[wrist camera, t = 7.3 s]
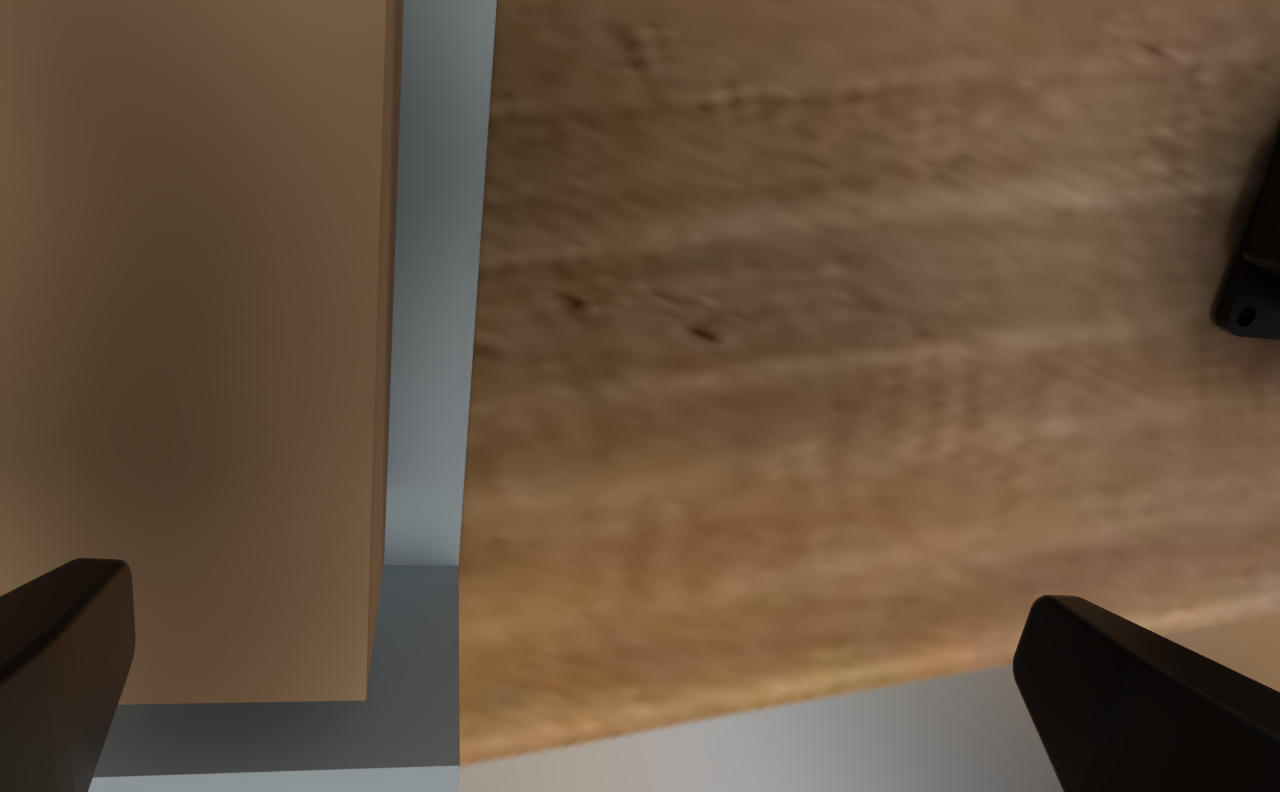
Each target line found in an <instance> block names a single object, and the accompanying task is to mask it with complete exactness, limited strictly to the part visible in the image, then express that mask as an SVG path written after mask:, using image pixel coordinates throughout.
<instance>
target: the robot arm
mask: <svg viewBox="0 0 1280 792" xmlns="http://www.w3.org/2000/svg"><path fill="white" fill-rule="evenodd" d="M1241 310H1243V313H1242V315H1241V316H1240V318H1239V319H1237V316H1238V314H1239V313H1240V311H1241ZM1215 320H1216V324H1217V326H1218V327H1219V328H1220V329H1221V330H1223V331H1226V332H1228V333H1230V334H1233V335H1236V336H1239V337H1251V338H1264V339H1277V340H1280V139H1279V142H1278V144H1277V147H1276V150H1275V152H1274V155H1273V158H1272V161H1271V163H1270V166H1269V169H1268V172H1267V174H1266V177H1265V180H1264V182H1263V185H1262V188H1261V191H1260V193H1259V196H1258V199H1257V202H1256V204H1255V207H1254V210H1253V213H1252V215H1251V218H1250V221H1249V223H1248V226H1247V229H1246V232H1245V234H1244V237H1243V240H1242V243H1241V245H1240V248H1239V251H1238V253H1237V256H1236V259H1235V262H1234V264H1233V267H1232V270H1231V273H1230V275H1229V278H1228V281H1227V284H1226V286H1225V289H1224V292H1223V294H1222V297H1221V300H1220V303H1219V305H1218V308H1217V311H1216V316H1215ZM135 641H136V634H135V617H134V600H133V583H132V573H131V570H130V567H129V565H128V564H127V563H126V562H125V561H124V560H119V559H99V558H77V559H74V560H71V561H69V562H67V563H65V564H63V565H61V566H59V567H57V568H55V569H53V570H51V571H49V572H47V573H45V574H43V575H41V576H39V577H37V578H35V579H33V580H31V581H29V582H27V583H25V584H23V585H21V586H20V587H18V588H16V589H14V590H12V591H10V592H8V593H6V594H4V595H2V596H0V792H88V790H89V787H90V785H91V782H92V779H93V776H94V773H95V770H96V767H97V764H98V761H99V758H100V755H101V753H102V750H103V747H104V744H105V741H106V738H107V735H108V732H109V729H110V726H111V723H112V721H113V718H114V715H115V712H116V709H117V706H118V703H119V700H120V697H121V694H122V691H123V689H124V686H125V683H126V680H127V677H128V674H129V671H130V668H131V665H132V661H133V657H134V651H135ZM1013 673H1014V678H1015V681H1016V684H1017V686H1018V689H1019V691H1020V693H1021V696H1022V698H1023V700H1024V702H1025V705H1026V707H1027V709H1028V711H1029V714H1030V716H1031V718H1032V721H1033V723H1034V725H1035V728H1036V730H1037V732H1038V734H1039V736H1040V739H1041V741H1042V744H1043V746H1044V748H1045V750H1046V752H1047V755H1048V757H1049V760H1050V762H1051V764H1052V766H1053V769H1054V771H1055V773H1056V776H1057V778H1058V780H1059V782H1060V785H1061V787H1062V789H1063V791H1064V792H1280V692H1278V691H1276V690H1273V689H1272V688H1270V687H1267V686H1265V685H1263V684H1261V683H1259V682H1257V681H1255V680H1253V679H1250V678H1248V677H1246V676H1244V675H1242V674H1240V673H1238V672H1236V671H1234V670H1232V669H1230V668H1228V667H1225V666H1223V665H1221V664H1219V663H1217V662H1215V661H1213V660H1211V659H1209V658H1207V657H1204V656H1202V655H1200V654H1198V653H1196V652H1194V651H1192V650H1190V649H1187V648H1185V647H1183V646H1181V645H1179V644H1177V643H1175V642H1173V641H1171V640H1169V639H1167V638H1164V637H1162V636H1160V635H1158V634H1156V633H1154V632H1152V631H1150V630H1148V629H1146V628H1143V627H1141V626H1139V625H1137V624H1135V623H1133V622H1131V621H1129V620H1127V619H1125V618H1122V617H1120V616H1118V615H1116V614H1114V613H1112V612H1110V611H1108V610H1106V609H1104V608H1101V607H1099V606H1097V605H1095V604H1093V603H1091V602H1089V601H1087V600H1085V599H1083V598H1080V597H1076V596H1066V595H1043V596H1041V597H1039V598H1038V599H1037V600H1036V601H1035V602H1034V603H1033V605H1032V607H1031V609H1030V612H1029V615H1028V618H1027V621H1026V623H1025V626H1024V629H1023V632H1022V635H1021V637H1020V640H1019V643H1018V646H1017V649H1016V652H1015V655H1014V658H1013Z"/></svg>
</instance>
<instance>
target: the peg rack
mask: <svg viewBox="0 0 1280 792" xmlns="http://www.w3.org/2000/svg"><path fill="white" fill-rule="evenodd" d="M496 7H497V0H404V14H403V43H402V71H401V99H400V128H399V156H398V184H397V213H396V241H395V269H394V298H393V326H392V354H391V382H390V411H389V439H388V467H387V496H386V524H385V552H384V563H383V571H382V579H381V586H380V594H379V602H378V610H377V618H376V625H375V633H374V641H373V649H372V656H371V664H370V672H369V680H368V688H367V695H366V700H363V701H305V702H247V703H189V704H131V705H118V706H117V709H116V712H115V715H114V718H113V721H112V723H111V726H110V729H109V732H108V735H107V738H106V741H105V744H104V747H103V750H102V753H101V755H100V758H99V761H98V764H97V767H96V770H95V773H94V776H93V779H92V782H91V785H90V787H89V790H88V792H458V780H459V767H460V750H459V590H458V564H459V549H460V534H461V520H462V505H463V490H464V476H465V461H466V446H467V432H468V417H469V402H470V388H471V373H472V359H473V344H474V329H475V315H476V300H477V285H478V271H479V256H480V241H481V227H482V212H483V197H484V183H485V168H486V153H487V139H488V124H489V109H490V95H491V80H492V65H493V51H494V36H495V21H496Z"/></svg>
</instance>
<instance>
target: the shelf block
mask: <svg viewBox="0 0 1280 792" xmlns="http://www.w3.org/2000/svg"><path fill="white" fill-rule="evenodd" d="M403 14H404V0H0V596H2V595H4V594H6V593H8V592H10V591H12V590H14V589H16V588H18V587H20V586H21V585H23V584H25V583H27V582H29V581H31V580H33V579H35V578H37V577H39V576H41V575H43V574H45V573H47V572H49V571H51V570H53V569H55V568H57V567H59V566H61V565H63V564H65V563H67V562H69V561H71V560H74V559H77V558H99V559H119V560H124V561H125V562H126V563H127V564H128V565H129V567H130V570H131V573H132V583H133V600H134V617H135V634H136V641H135V651H134V657H133V661H132V665H131V668H130V671H129V674H128V677H127V680H126V683H125V686H124V689H123V691H122V694H121V697H120V700H119V703H118V705H131V704H189V703H247V702H305V701H363V700H366V695H367V688H368V680H369V672H370V664H371V656H372V649H373V641H374V633H375V625H376V618H377V610H378V602H379V594H380V586H381V579H382V571H383V563H384V552H385V524H386V496H387V467H388V439H389V411H390V382H391V354H392V326H393V298H394V269H395V241H396V213H397V184H398V156H399V128H400V99H401V71H402V43H403Z"/></svg>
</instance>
